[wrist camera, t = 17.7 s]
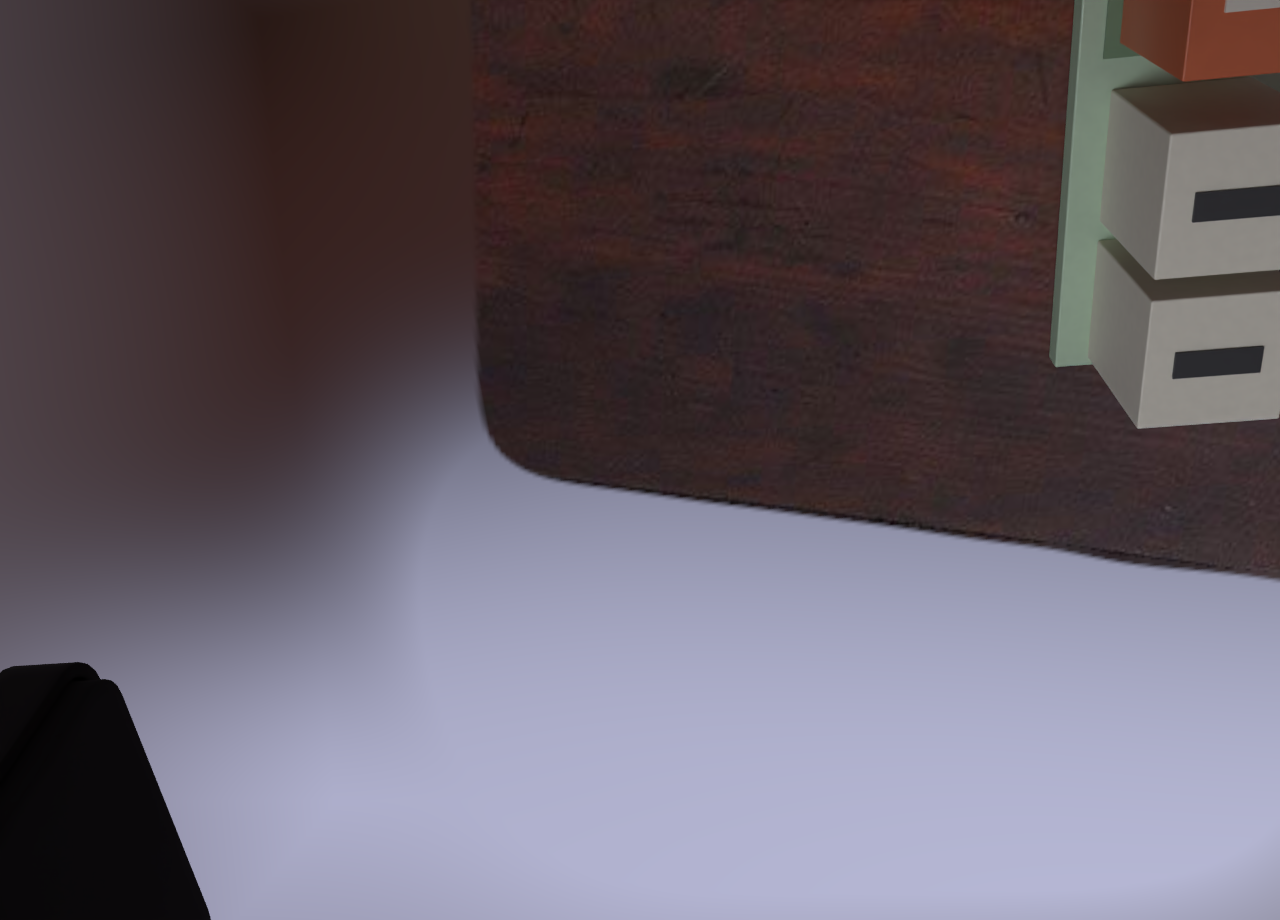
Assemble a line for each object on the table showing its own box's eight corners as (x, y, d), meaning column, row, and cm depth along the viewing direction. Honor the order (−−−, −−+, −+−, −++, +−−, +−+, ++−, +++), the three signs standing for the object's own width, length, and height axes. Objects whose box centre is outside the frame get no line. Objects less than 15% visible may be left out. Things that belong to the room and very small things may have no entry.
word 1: (1048, 357, 41) (1101, 442, 35) (1084, -141, 33) (1157, -125, 28) (1234, 343, 40) (1315, 427, 35) (1311, -165, 33) (1428, -153, 28)
